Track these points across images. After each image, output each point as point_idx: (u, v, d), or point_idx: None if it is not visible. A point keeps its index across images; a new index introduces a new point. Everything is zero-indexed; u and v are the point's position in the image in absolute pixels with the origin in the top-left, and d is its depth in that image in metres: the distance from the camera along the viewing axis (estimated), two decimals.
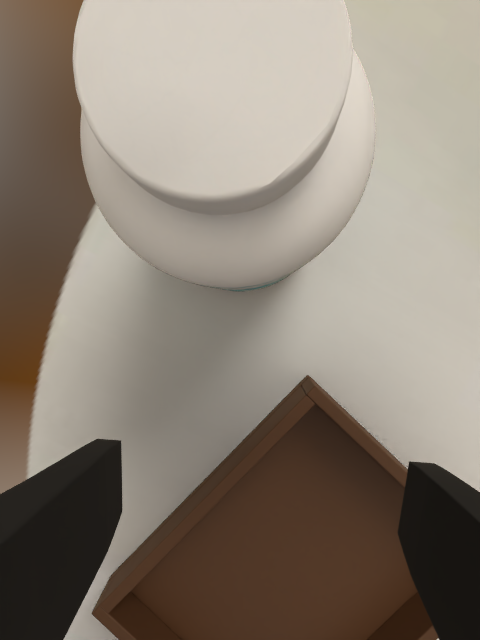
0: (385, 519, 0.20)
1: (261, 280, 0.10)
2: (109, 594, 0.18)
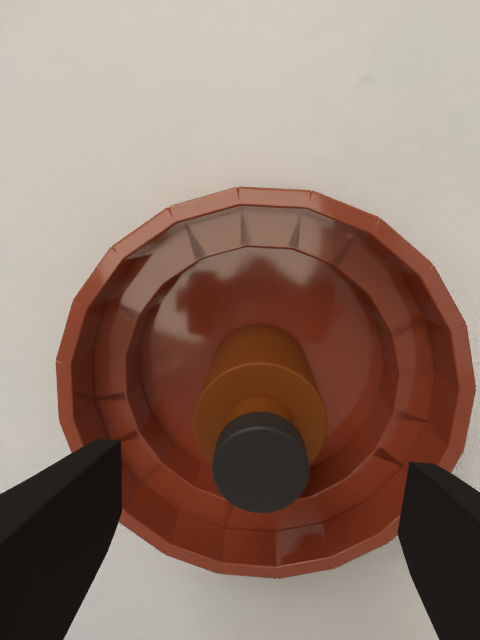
0: None
1: None
2: None
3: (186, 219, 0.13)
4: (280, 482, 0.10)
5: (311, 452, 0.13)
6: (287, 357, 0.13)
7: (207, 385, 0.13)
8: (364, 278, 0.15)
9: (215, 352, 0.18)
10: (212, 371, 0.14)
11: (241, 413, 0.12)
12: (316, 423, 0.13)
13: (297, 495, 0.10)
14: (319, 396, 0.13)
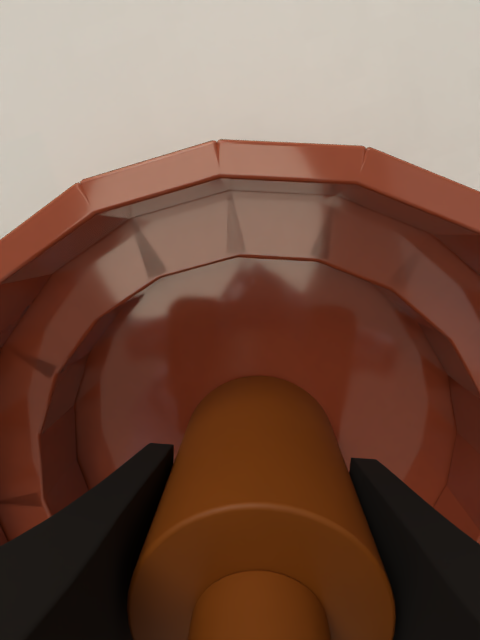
0: None
1: None
2: None
3: (115, 206, 0.07)
4: None
5: None
6: (312, 471, 0.07)
7: (152, 542, 0.06)
8: (443, 312, 0.09)
9: (189, 421, 0.11)
10: (169, 494, 0.07)
11: (217, 638, 0.05)
12: (374, 620, 0.06)
13: None
14: (381, 569, 0.06)
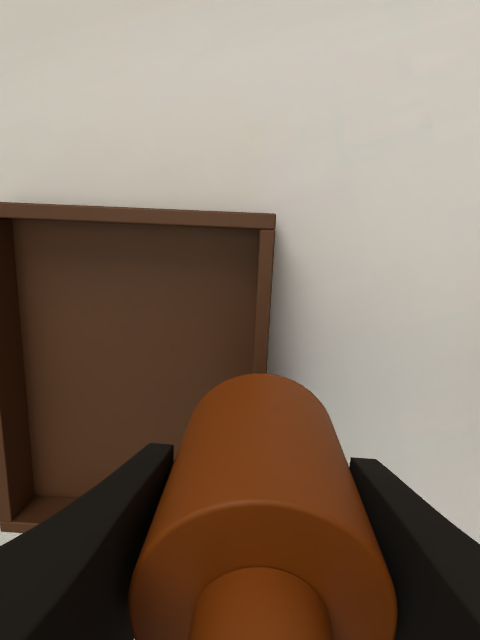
0: (172, 271, 0.18)
1: None
2: None
3: None
4: None
5: None
6: (313, 468, 0.07)
7: (153, 539, 0.06)
8: None
9: (190, 418, 0.11)
10: (170, 490, 0.07)
11: (218, 634, 0.05)
12: (375, 617, 0.06)
13: None
14: (383, 565, 0.06)
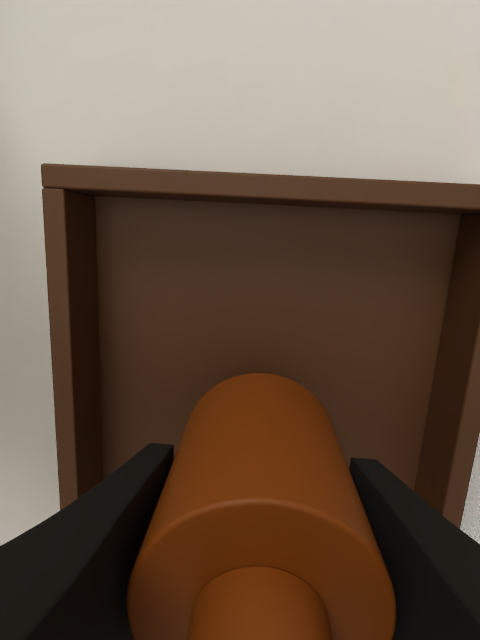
0: (325, 273, 0.12)
1: None
2: None
3: None
4: None
5: None
6: (312, 468, 0.07)
7: (151, 538, 0.06)
8: None
9: (189, 418, 0.11)
10: (169, 490, 0.07)
11: (217, 633, 0.05)
12: (374, 617, 0.06)
13: None
14: (382, 565, 0.06)
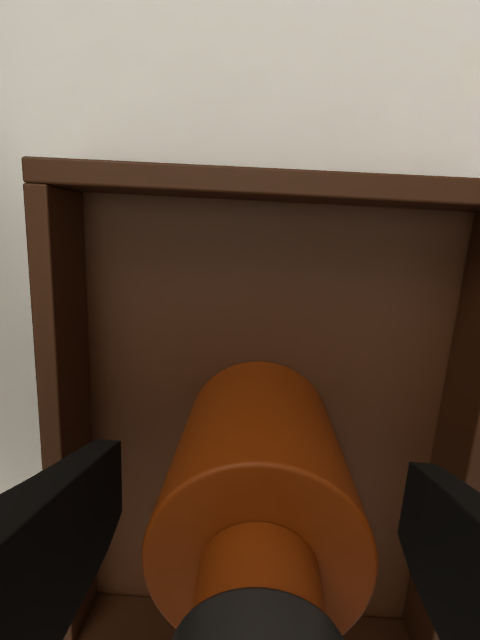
0: (329, 275, 0.11)
1: None
2: None
3: None
4: None
5: (348, 612, 0.07)
6: (305, 439, 0.08)
7: (164, 498, 0.07)
8: None
9: None
10: (178, 460, 0.08)
11: (222, 572, 0.06)
12: (359, 566, 0.07)
13: None
14: (365, 520, 0.07)
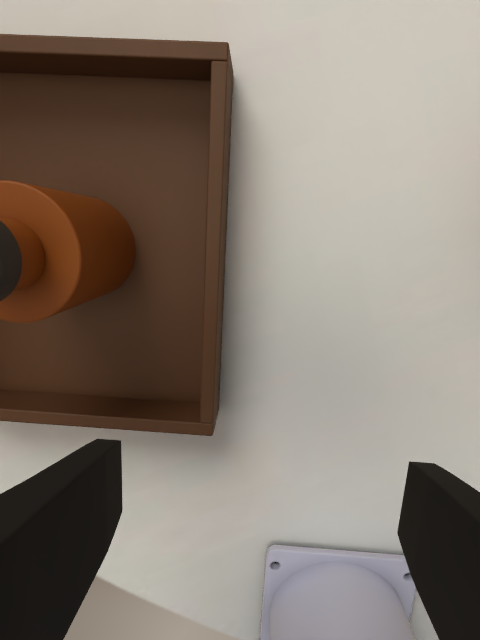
0: (124, 130, 0.16)
1: None
2: None
3: None
4: None
5: (67, 282, 0.12)
6: (53, 191, 0.13)
7: None
8: None
9: None
10: None
11: None
12: (68, 249, 0.12)
13: None
14: (68, 219, 0.12)
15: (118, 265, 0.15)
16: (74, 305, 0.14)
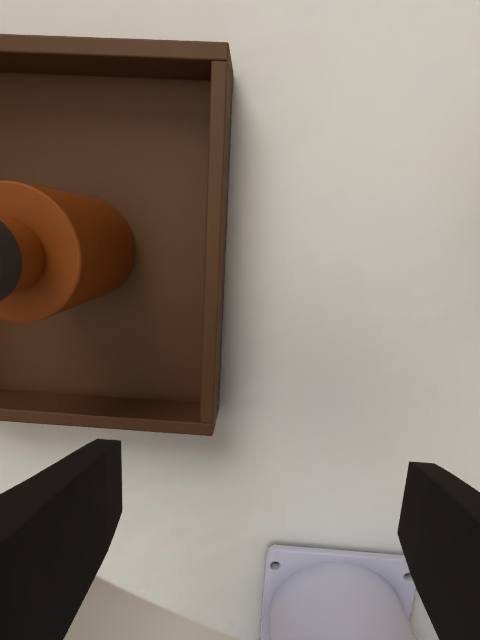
0: (124, 130, 0.16)
1: None
2: None
3: None
4: None
5: (67, 282, 0.12)
6: (53, 191, 0.13)
7: None
8: None
9: None
10: None
11: None
12: (68, 249, 0.12)
13: None
14: (68, 219, 0.12)
15: (118, 265, 0.15)
16: (74, 305, 0.14)
